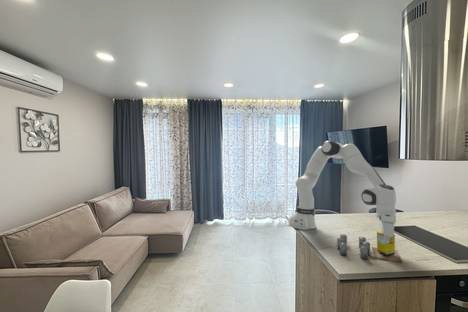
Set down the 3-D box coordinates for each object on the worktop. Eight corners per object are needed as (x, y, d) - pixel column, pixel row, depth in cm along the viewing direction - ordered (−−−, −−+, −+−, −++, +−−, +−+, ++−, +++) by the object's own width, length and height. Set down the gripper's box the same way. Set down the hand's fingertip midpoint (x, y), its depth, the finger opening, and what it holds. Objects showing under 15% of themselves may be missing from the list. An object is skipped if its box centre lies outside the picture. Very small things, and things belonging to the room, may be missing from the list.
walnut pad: (374, 258, 121) (374, 256, 121) (372, 248, 133) (372, 247, 133) (402, 263, 116) (402, 261, 116) (396, 252, 128) (396, 250, 128)
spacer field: (336, 254, 126) (336, 244, 126) (337, 243, 141) (337, 233, 141) (371, 260, 118) (371, 249, 118) (368, 247, 134) (368, 237, 134)
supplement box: (395, 254, 123) (395, 234, 122) (386, 255, 121) (386, 235, 121) (385, 249, 128) (385, 230, 128) (376, 251, 127) (376, 231, 126)
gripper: (376, 209, 135) (376, 232, 135) (381, 219, 117) (381, 245, 117) (389, 210, 132) (389, 234, 132) (396, 220, 114) (396, 247, 114)
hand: (385, 239), depth 124 cm, fingers closed on supplement box, 8 cm apart
